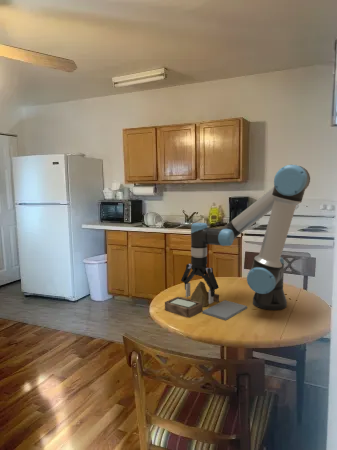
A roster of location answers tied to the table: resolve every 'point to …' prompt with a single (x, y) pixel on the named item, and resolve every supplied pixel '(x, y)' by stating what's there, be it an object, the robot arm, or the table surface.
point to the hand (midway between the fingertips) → (199, 299)
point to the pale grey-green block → (183, 303)
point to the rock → (200, 294)
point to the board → (224, 310)
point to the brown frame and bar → (186, 311)
